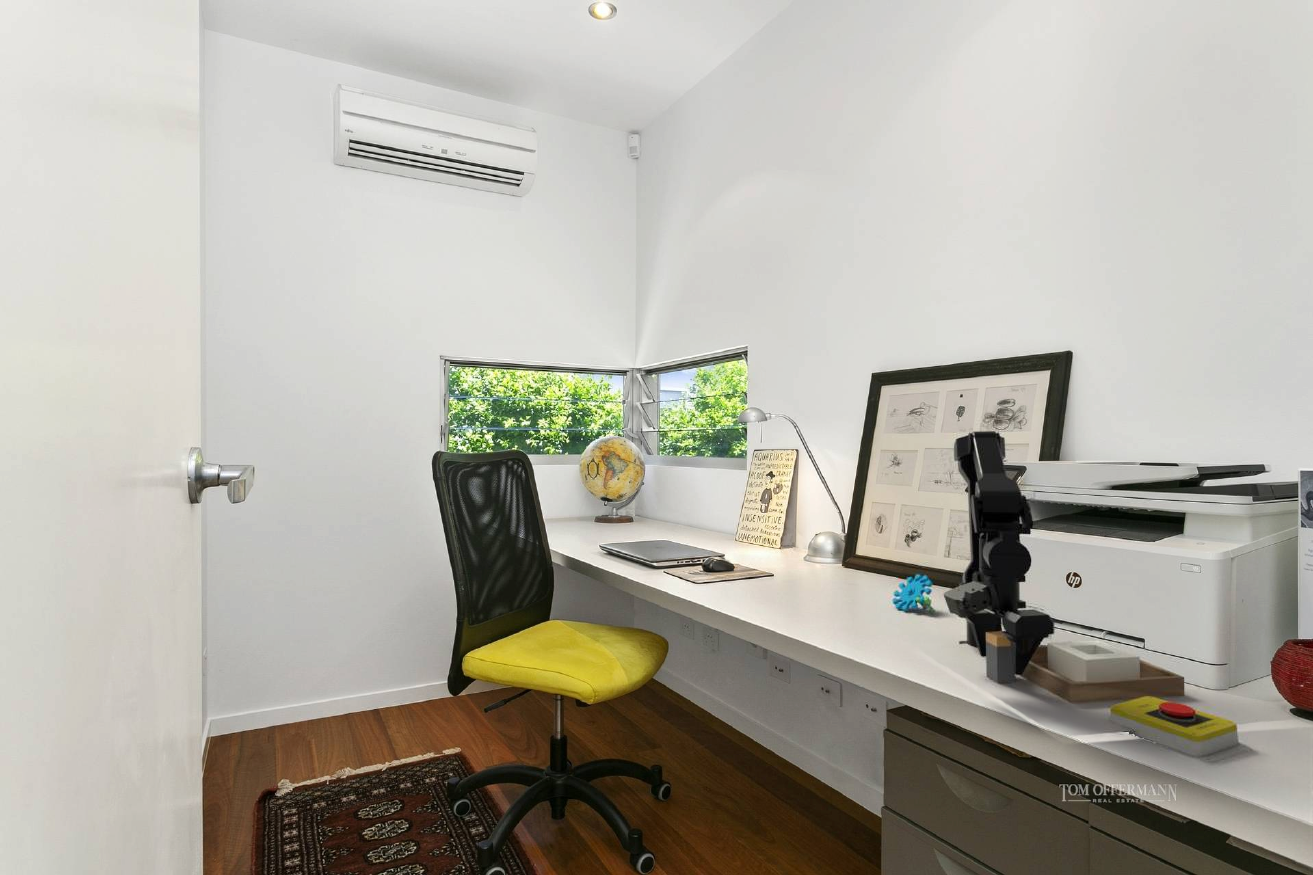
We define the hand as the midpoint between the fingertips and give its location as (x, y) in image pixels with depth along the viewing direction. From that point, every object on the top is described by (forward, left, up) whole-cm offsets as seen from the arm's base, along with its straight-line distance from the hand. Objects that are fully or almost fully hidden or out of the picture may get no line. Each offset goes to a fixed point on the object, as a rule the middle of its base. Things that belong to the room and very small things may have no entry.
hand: (1000, 665), depth 116 cm
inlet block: (+1, +15, -2) cm, 15 cm away
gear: (-48, +9, -3) cm, 49 cm away
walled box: (+2, +13, -3) cm, 13 cm away
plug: (0, 0, -3) cm, 3 cm away
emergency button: (+21, +11, -4) cm, 24 cm away
